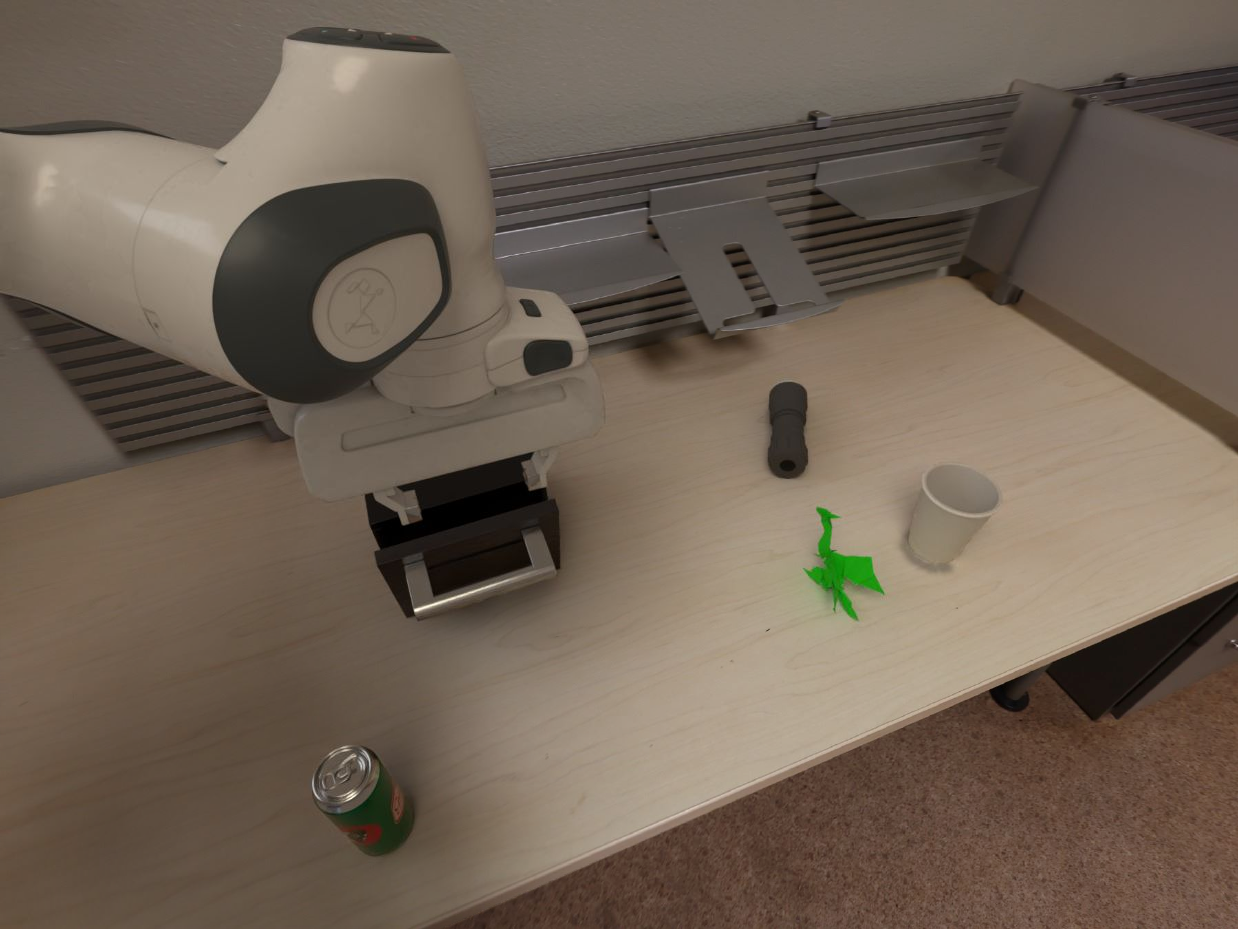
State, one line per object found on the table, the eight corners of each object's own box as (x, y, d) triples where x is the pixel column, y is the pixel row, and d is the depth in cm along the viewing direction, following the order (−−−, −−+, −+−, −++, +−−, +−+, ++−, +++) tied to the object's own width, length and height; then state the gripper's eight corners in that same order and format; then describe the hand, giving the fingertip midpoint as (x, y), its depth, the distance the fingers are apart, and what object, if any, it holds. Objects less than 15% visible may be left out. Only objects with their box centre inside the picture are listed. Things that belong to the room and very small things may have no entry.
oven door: (576, 610, 74) (577, 557, 62) (417, 665, 69) (387, 618, 58) (556, 557, 77) (554, 497, 66) (404, 605, 72) (373, 551, 61)
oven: (556, 557, 78) (545, 474, 68) (404, 605, 73) (369, 524, 63) (524, 480, 87) (510, 398, 77) (388, 518, 82) (355, 436, 73)
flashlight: (805, 483, 86) (813, 454, 82) (764, 478, 86) (770, 449, 83) (803, 410, 96) (810, 381, 93) (766, 407, 97) (772, 377, 93)
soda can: (423, 834, 56) (386, 782, 48) (366, 872, 54) (317, 825, 46) (402, 783, 59) (364, 727, 51) (347, 818, 57) (298, 764, 49)
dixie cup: (919, 578, 74) (949, 521, 67) (883, 524, 80) (907, 467, 73) (985, 565, 76) (1020, 508, 69) (945, 513, 81) (974, 456, 74)
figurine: (820, 531, 79) (845, 490, 71) (876, 619, 72) (910, 584, 65) (776, 546, 77) (796, 505, 70) (828, 637, 71) (857, 603, 63)
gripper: (253, 411, 34) (333, 571, 44) (612, 335, 40) (614, 492, 49) (256, 350, 39) (328, 508, 48) (579, 289, 44) (587, 442, 53)
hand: (475, 500), depth 49 cm, fingers open, 8 cm apart
